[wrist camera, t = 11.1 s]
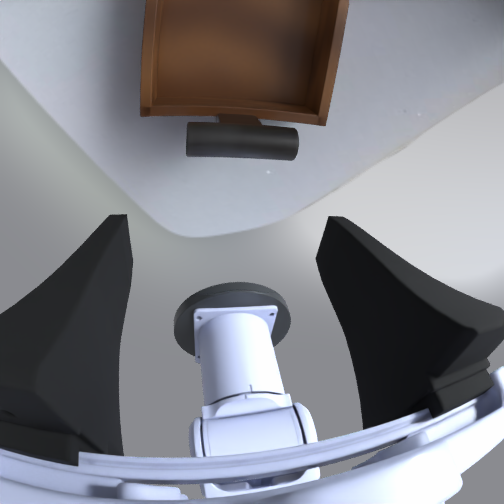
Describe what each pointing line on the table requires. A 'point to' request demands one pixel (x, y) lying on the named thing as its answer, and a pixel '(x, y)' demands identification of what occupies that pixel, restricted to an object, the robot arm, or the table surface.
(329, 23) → the tray
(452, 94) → the table surface
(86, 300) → the robot arm
